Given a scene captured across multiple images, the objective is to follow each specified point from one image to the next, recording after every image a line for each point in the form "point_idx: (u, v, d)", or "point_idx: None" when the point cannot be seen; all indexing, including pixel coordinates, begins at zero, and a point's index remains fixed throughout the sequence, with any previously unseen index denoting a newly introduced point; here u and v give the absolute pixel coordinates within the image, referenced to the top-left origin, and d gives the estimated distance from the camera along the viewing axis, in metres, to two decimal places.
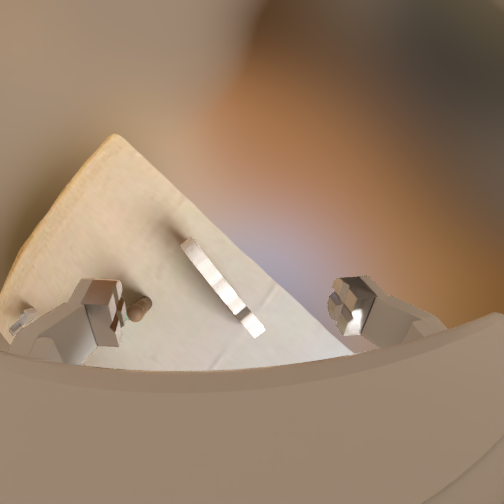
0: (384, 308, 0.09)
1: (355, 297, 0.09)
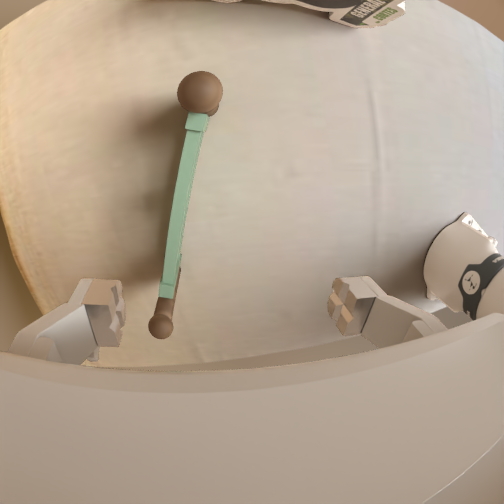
0: (384, 307, 0.09)
1: (355, 297, 0.09)
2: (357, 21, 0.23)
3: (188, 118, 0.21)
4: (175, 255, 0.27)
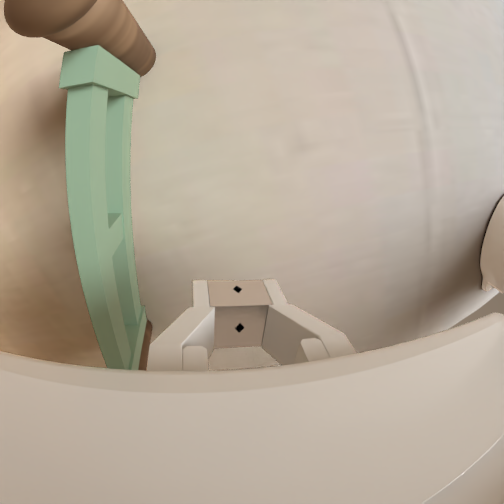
0: (278, 318, 0.08)
1: (241, 304, 0.08)
2: None
3: (64, 66, 0.07)
4: (112, 336, 0.13)
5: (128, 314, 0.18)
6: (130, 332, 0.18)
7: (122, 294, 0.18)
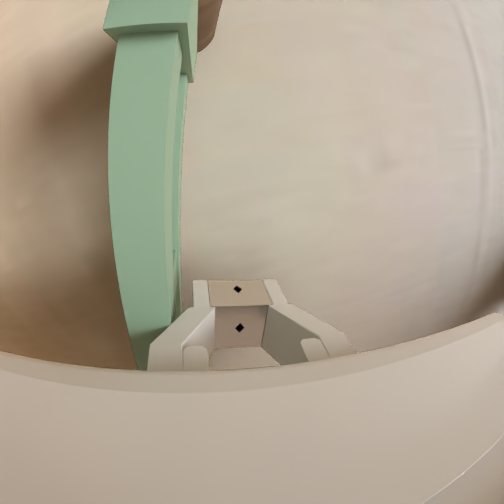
0: (278, 318, 0.08)
1: (241, 304, 0.08)
2: None
3: None
4: None
5: None
6: None
7: None
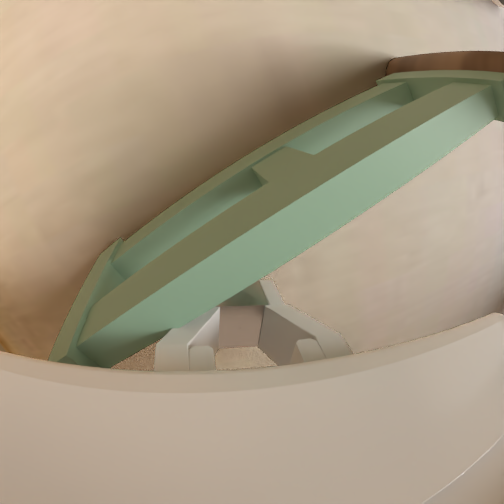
0: (274, 319, 0.08)
1: (237, 304, 0.08)
2: None
3: None
4: (185, 319, 0.07)
5: (136, 262, 0.11)
6: None
7: (165, 235, 0.11)
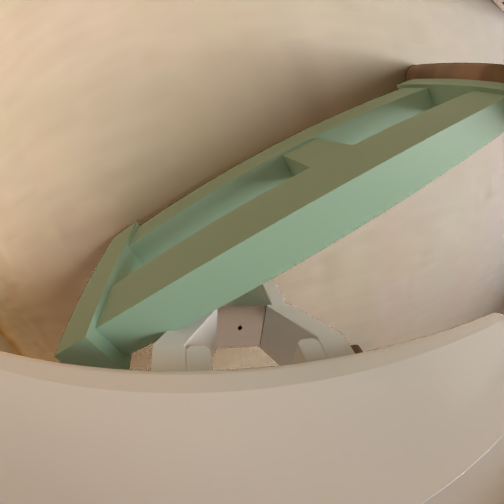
0: (276, 318, 0.08)
1: (239, 304, 0.08)
2: None
3: None
4: (226, 298, 0.06)
5: (156, 245, 0.11)
6: (136, 270, 0.10)
7: (190, 219, 0.11)
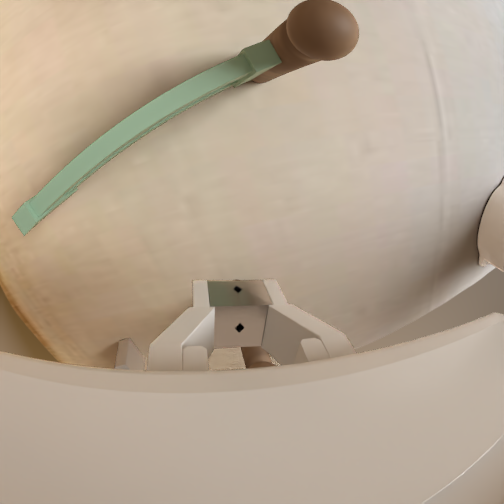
0: (278, 318, 0.08)
1: (241, 304, 0.08)
2: None
3: (259, 44, 0.12)
4: (69, 184, 0.13)
5: None
6: None
7: None
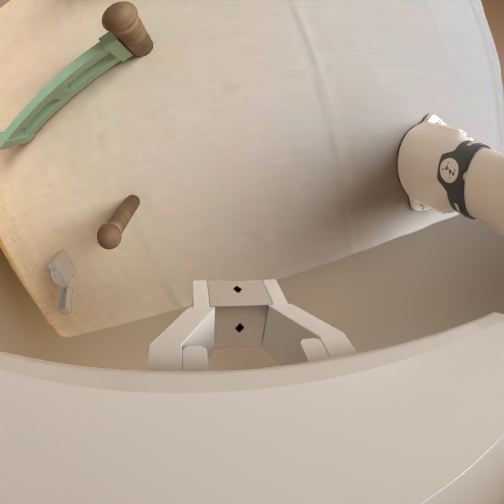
0: (278, 318, 0.08)
1: (241, 304, 0.08)
2: None
3: (106, 34, 0.18)
4: (22, 119, 0.20)
5: (29, 127, 0.24)
6: (22, 134, 0.23)
7: (37, 118, 0.24)
